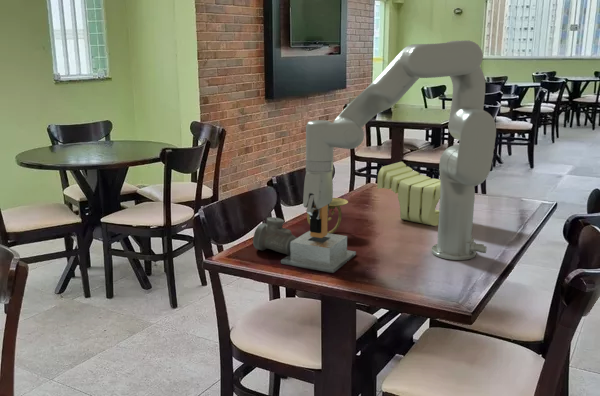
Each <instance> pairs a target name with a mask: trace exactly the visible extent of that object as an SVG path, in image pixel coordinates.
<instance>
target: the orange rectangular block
mask: <svg viewBox="0 0 600 396" xmlns="http://www.w3.org/2000/svg"><path fill="white" fill-rule="evenodd" d="M313 207H316V206H313ZM314 211H316V213H317V210H314ZM328 218H329V213H328V205H326V206H324V207H322V208H321V211H320V219H321V233H315V232H310V236H312V237H318V238H323V237H324V236H326V235H327V232H328V228H327V226H328V227H329V221H328Z"/></svg>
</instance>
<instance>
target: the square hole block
mask: <svg viewBox="0 0 600 396" xmlns="http://www.w3.org/2000/svg"><path fill="white" fill-rule="evenodd" d="M290 251H291V254H290V255H286V256H285V257H284V258H283V257H282V259H281V260H280V264H282V265H287V266H293V267H297V268H304V269H309V270H314V271H315V270H316V271H321V272H326V273H332V274H334V273H335V272H336V271H338V270H339V269H340V268H341V267H343V266H344V265H345V264H346V263H348V262H349V261H350V260H351V259H353V258H354V257H355V256H356V255H357V251H354V250H348V235H342V234H335V233H332V234H330V233H327V235H326V236H324V237H323V238H318V237H312V236H310V230H308V231H307V232H305V233H303V234H301V235H300V236H298V237H296V239H295V240H293V241H291V242H290ZM347 261H348V262H347Z"/></svg>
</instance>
